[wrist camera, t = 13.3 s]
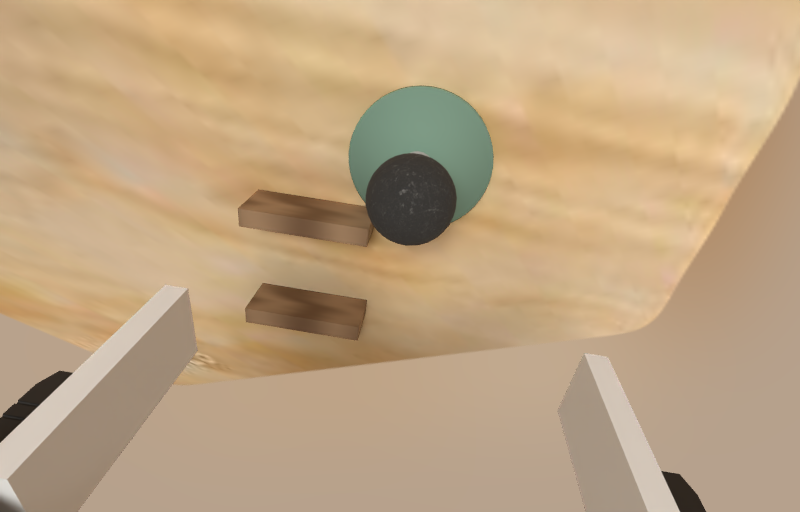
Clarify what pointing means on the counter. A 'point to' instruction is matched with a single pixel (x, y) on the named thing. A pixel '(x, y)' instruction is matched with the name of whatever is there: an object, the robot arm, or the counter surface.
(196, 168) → the counter surface
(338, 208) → the pair of wooden planks
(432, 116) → the pad
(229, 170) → the counter surface
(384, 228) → the light bulb
